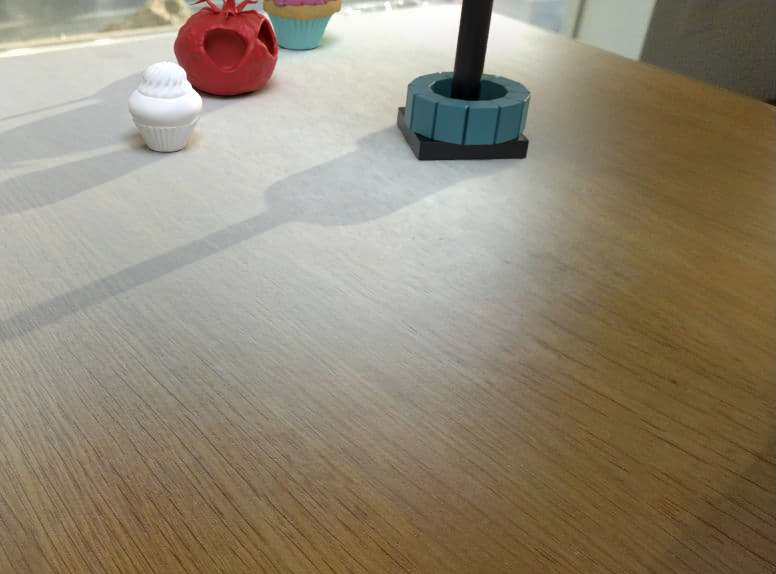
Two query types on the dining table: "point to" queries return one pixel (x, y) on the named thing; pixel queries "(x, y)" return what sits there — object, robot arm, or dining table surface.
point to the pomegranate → (227, 49)
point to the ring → (467, 110)
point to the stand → (466, 91)
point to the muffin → (165, 107)
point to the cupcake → (300, 21)
